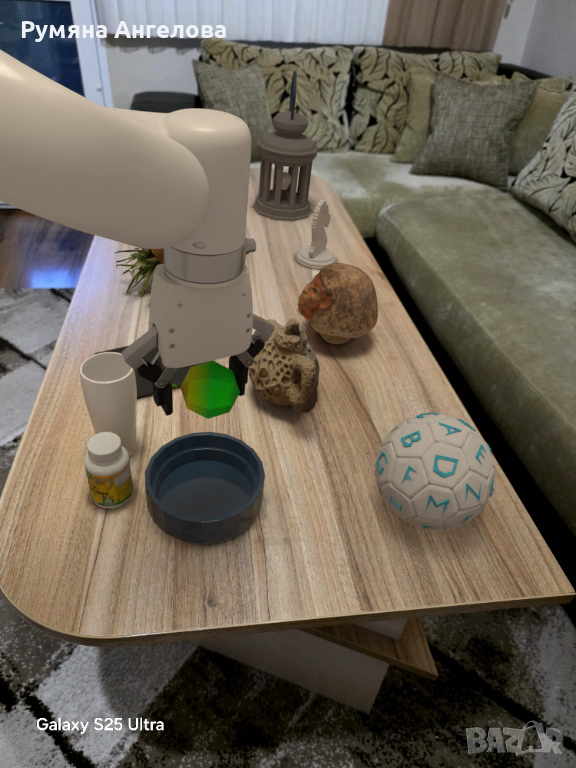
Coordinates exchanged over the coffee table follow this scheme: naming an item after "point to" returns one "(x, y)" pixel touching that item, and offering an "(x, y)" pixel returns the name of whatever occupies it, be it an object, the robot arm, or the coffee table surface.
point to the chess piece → (317, 241)
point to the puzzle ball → (435, 471)
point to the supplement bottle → (108, 470)
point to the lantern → (291, 152)
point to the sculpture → (340, 303)
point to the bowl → (204, 487)
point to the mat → (146, 386)
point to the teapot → (287, 368)
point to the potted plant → (143, 264)
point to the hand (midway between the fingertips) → (201, 397)
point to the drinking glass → (111, 396)
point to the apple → (209, 389)
